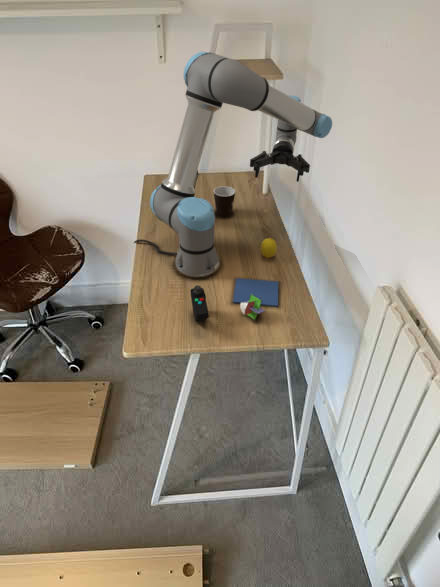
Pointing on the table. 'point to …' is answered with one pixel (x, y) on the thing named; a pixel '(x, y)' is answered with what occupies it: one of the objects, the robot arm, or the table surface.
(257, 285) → the blue mat
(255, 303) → the geometric puzzle
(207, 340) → the table surface
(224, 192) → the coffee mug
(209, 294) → the table surface
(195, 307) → the controller
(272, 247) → the lemon
